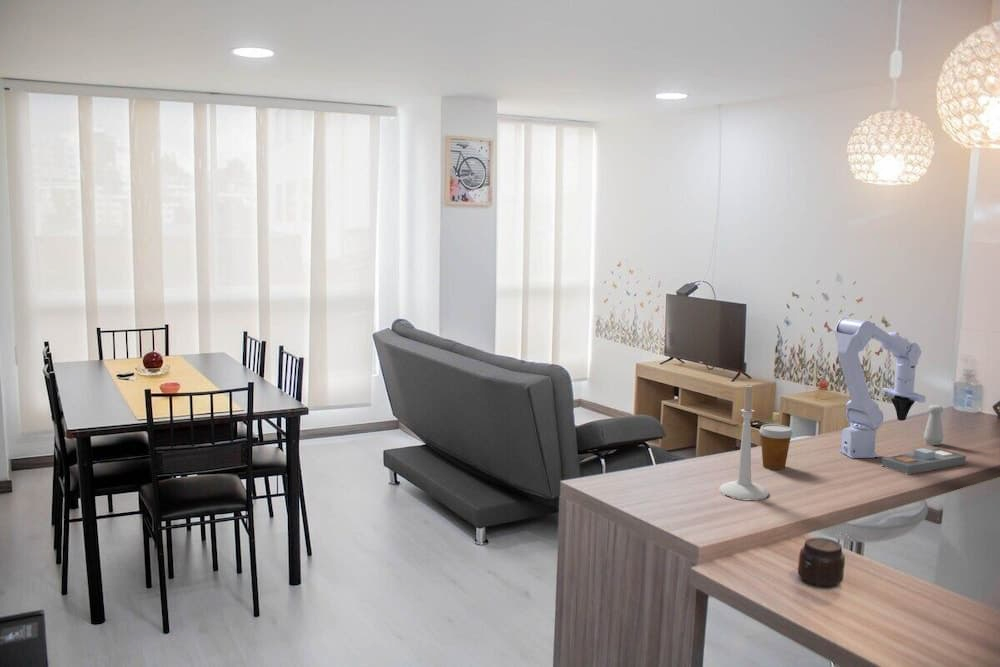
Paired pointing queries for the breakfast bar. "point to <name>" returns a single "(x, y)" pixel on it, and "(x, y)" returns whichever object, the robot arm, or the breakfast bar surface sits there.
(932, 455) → the slate key
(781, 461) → the disposable coffee cup
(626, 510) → the breakfast bar surface
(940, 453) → the cream key
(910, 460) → the terracotta key
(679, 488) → the breakfast bar surface
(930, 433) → the salt shaker
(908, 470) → the key panel
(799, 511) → the breakfast bar surface
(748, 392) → the candlestick
